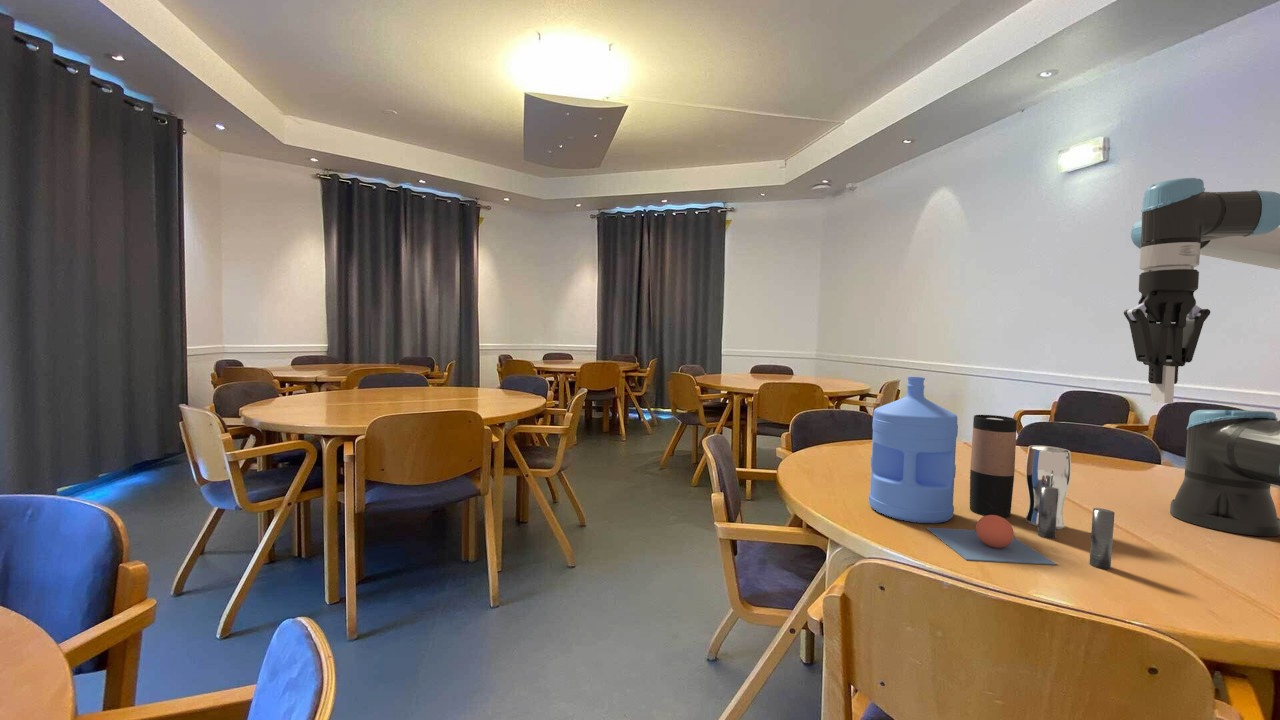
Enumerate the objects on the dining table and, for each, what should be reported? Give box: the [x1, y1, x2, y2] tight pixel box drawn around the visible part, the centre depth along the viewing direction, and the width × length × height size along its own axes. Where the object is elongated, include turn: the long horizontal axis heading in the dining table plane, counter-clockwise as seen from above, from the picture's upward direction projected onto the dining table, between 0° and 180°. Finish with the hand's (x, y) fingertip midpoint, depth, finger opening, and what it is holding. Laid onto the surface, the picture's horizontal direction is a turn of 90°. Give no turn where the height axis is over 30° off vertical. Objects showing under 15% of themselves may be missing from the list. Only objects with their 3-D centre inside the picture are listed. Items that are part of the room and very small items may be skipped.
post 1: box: [1037, 486, 1058, 540], centre depth 97 cm, size 3×3×9 cm
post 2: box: [1089, 507, 1115, 570], centre depth 85 cm, size 3×3×9 cm
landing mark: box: [926, 527, 1058, 566], centre depth 93 cm, size 14×14×1 cm
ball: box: [975, 515, 1015, 548], centre depth 92 cm, size 6×6×6 cm
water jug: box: [868, 376, 959, 524], centre depth 109 cm, size 16×16×28 cm
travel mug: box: [969, 414, 1018, 519], centre depth 110 cm, size 8×8×20 cm
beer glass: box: [1025, 444, 1072, 531], centre depth 104 cm, size 7×7×15 cm
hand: (1161, 402), depth 95 cm, fingers closed
